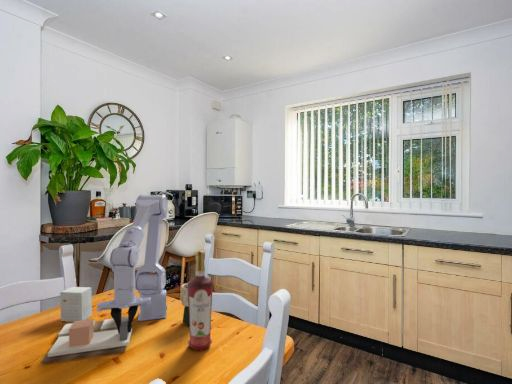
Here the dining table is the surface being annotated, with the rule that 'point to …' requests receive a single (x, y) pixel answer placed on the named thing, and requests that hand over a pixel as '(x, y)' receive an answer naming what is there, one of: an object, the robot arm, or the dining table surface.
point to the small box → (76, 304)
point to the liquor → (200, 306)
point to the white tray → (94, 341)
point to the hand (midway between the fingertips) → (124, 331)
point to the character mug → (185, 302)
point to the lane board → (97, 327)
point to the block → (81, 332)
